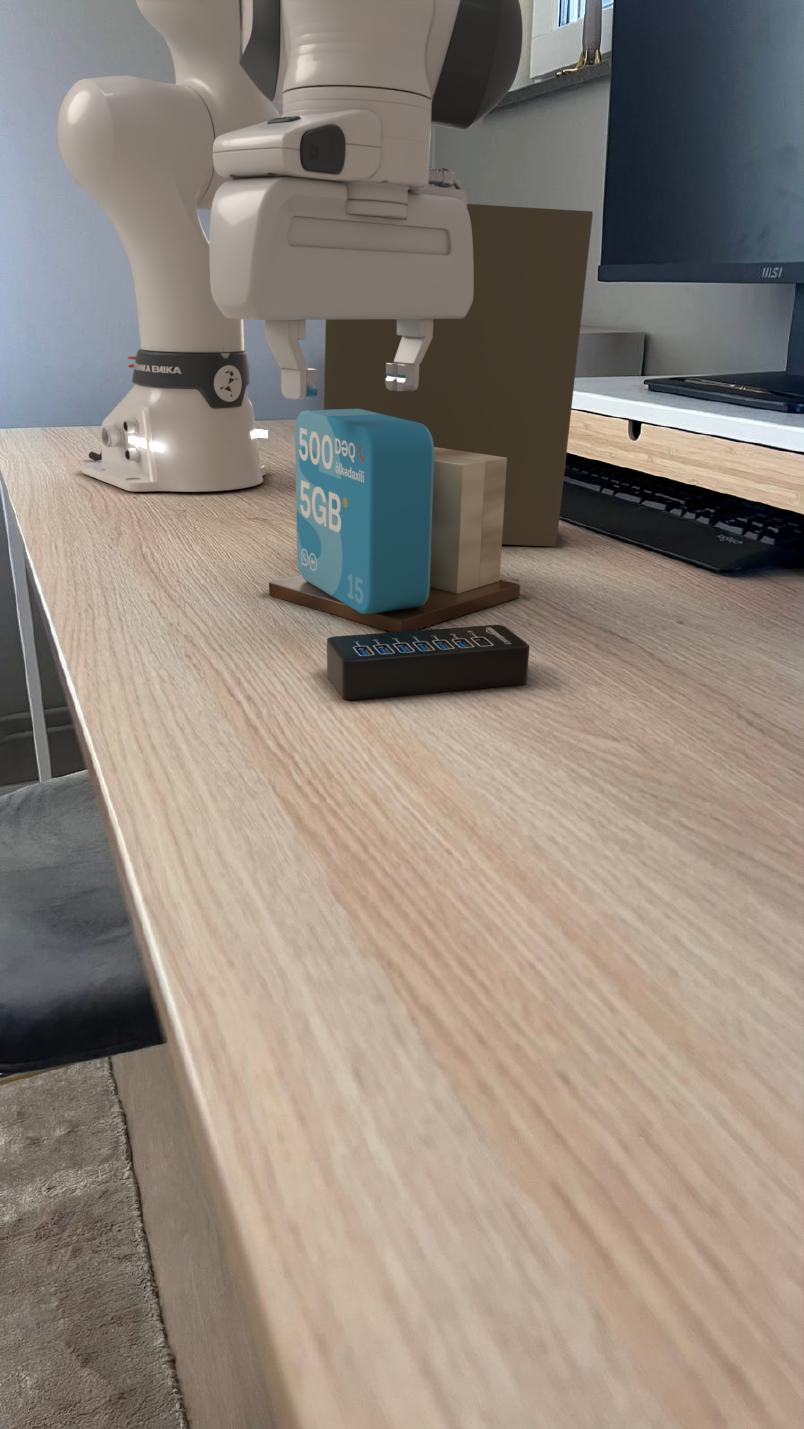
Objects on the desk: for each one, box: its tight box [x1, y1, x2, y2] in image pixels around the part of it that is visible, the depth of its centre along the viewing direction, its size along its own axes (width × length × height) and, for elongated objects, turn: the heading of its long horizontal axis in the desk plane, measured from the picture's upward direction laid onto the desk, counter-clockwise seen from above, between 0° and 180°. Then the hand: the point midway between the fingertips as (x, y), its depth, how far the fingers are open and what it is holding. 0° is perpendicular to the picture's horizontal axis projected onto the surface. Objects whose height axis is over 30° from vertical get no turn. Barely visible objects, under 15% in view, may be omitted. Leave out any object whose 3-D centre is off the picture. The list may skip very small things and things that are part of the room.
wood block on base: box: [268, 447, 521, 632], centre depth 74 cm, size 13×13×10 cm
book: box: [323, 203, 594, 548], centre depth 90 cm, size 22×9×28 cm, turn 94°
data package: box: [294, 409, 434, 614], centre depth 70 cm, size 12×4×12 cm, turn 29°
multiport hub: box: [326, 624, 531, 701], centre depth 59 cm, size 4×11×2 cm, turn 107°
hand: (353, 394), depth 67 cm, fingers open, 8 cm apart
